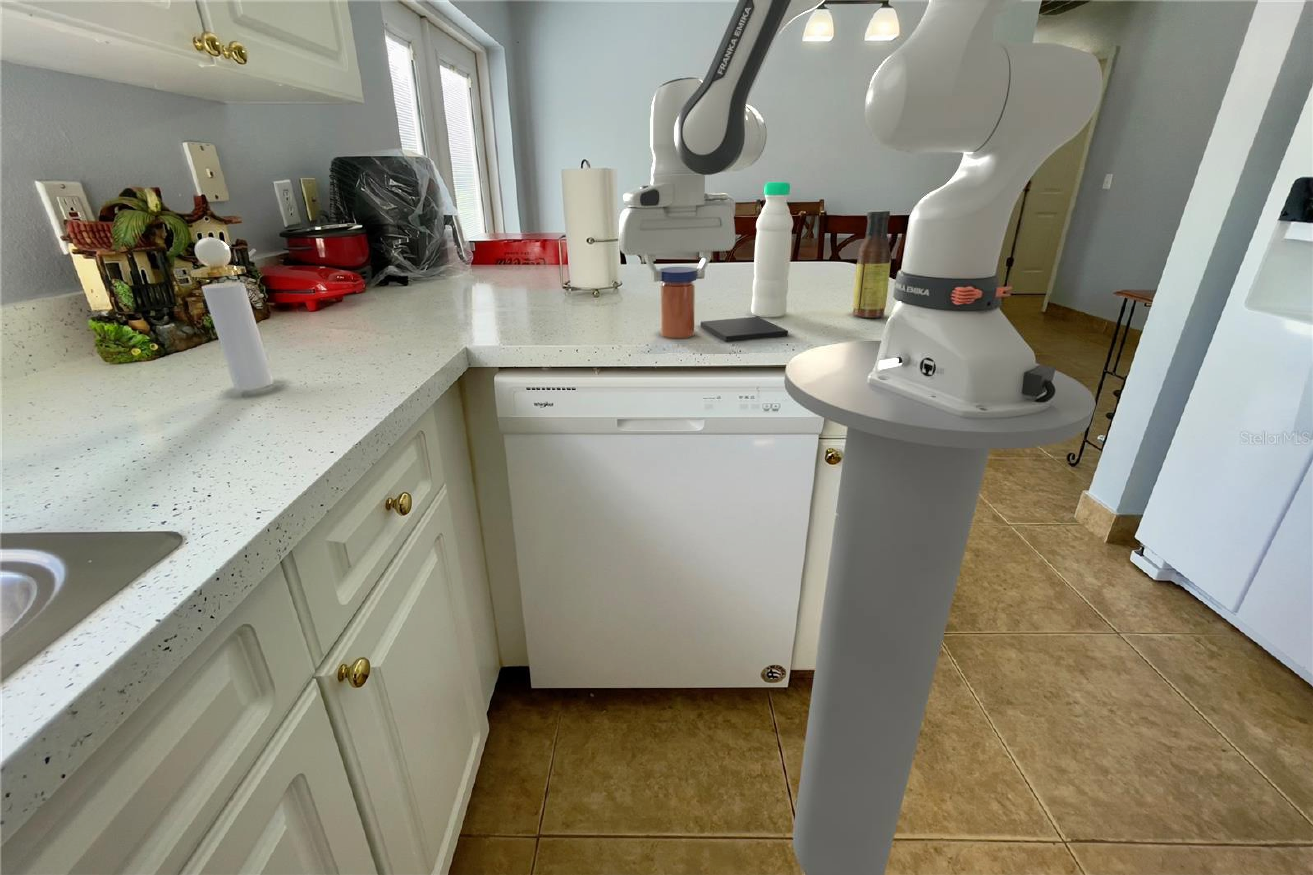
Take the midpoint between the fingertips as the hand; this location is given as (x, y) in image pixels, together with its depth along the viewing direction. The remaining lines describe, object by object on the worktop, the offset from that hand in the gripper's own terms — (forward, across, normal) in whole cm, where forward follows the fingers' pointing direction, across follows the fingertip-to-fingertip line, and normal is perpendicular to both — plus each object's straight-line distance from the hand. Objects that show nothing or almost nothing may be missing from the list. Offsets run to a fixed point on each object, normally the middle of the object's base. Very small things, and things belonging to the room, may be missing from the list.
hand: (677, 279), depth 102 cm
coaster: (+10, -12, +2) cm, 16 cm away
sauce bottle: (+10, -41, -1) cm, 42 cm away
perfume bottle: (+10, +65, +9) cm, 66 cm away
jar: (+10, 0, 0) cm, 10 cm away
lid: (-1, 0, 0) cm, 1 cm away
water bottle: (+10, -23, -9) cm, 27 cm away
